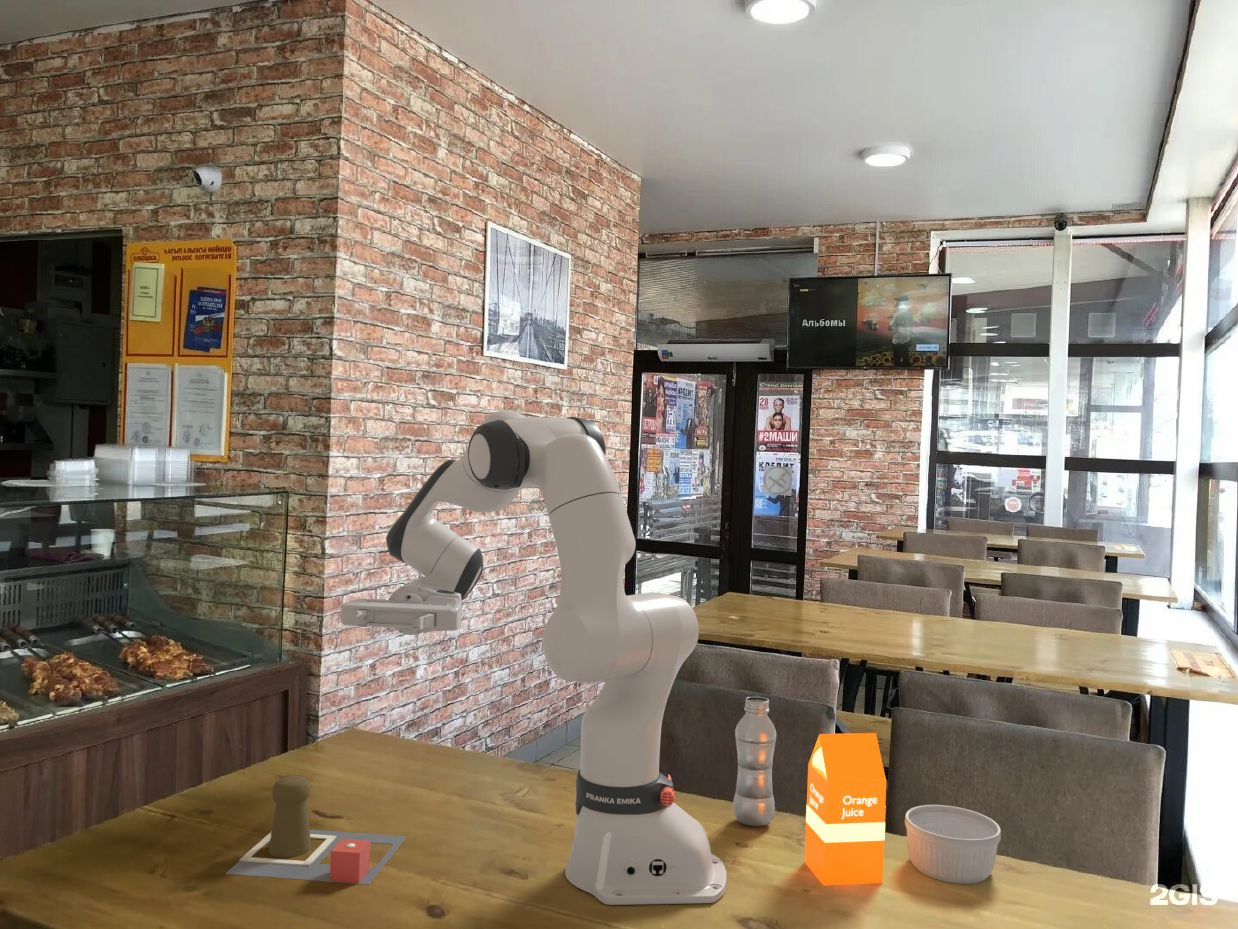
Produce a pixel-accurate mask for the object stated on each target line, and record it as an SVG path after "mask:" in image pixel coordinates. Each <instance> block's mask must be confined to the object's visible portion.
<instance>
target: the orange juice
mask: <svg viewBox="0 0 1238 929" xmlns="http://www.w3.org/2000/svg"><path fill="white" fill-rule="evenodd" d="M877 736H878V735H877V732H867V733H866V732H861V733H859V732H857V733H856V732H855V733H852V732H851V733H819V735H818V738H817V740H816V743H815V746H814V748H813V750H812V753H811V756H810V759H809V761H808V764H807V785H806V786H807V790H806V791H807V792H806V794H807V795H806V807H805V808H806V811H805V812H806V813H805V843H804V844H805V847H804V848H805V849H804V851H805V852H804V863H805V865H806V866H807V867H808V868H809V870H810V871H811V872H812V873H813V874H814V875H815V877H816V878H817V879H818V880H819V882H820V883H821V884H822V885H823V886H839V885H841V886H842V885H843V886H845V885H860V884H861V885H862V884H865V885H866V884H883V880H884V879H883V878H884V860H885V859H884V857H885V856H884V854H885V852H884V850H885V840H886V839H885V838H886V801H887V779H886V775H885V774H886V773H885V770H884V765H883V759H882V755H881V751H880V745H879V740H878V737H877Z"/></svg>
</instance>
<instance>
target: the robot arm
mask: <svg viewBox="0 0 1238 929" xmlns="http://www.w3.org/2000/svg"><path fill="white" fill-rule="evenodd" d="M606 446H607V445H606V442H605V438H604V436H603V434H602V431H601V430H600V428H599V427H598V424H596V423H595V422H593V421H591V420H589V419H586V418H582V417H577V416H569V417H551V416H550V417H545V416H544V417H543V416H542V417H540V416H525V415H523V414H521V413H520V412H517V411H515V410H511V409H509V410H508V409H505V410H504V409H503V410H502V409H501V410H498V411H494V412H493V413H491V414H489V415H488V416H487V417H486V418H484V420H483V422H482V423H481V424H480V425H478V426H477V427H476V429H474V431H473V433H472V435H471V437H470V439H469V443H468V445H467V447H466V449H465V451H464V453H463V456H462V457H461V458H459V459H447V460H445V461H443V463H441V464H440V465H439V466H438V467H437V468H436V469H435V470H434V471H433V473H432V474H431V475H430V476H429V477H428V479H427V480H426V481H425V483H424V484H422V486H421V487H420V489H419V490H418V492H417V494H416V495H415V496H414V497H413V499H412V500H411V502H410V503H409V505H407V507H406V508H405V510H404V512H403V513H402V514H401V515H399V516H398V517H397V518H396V519H395V520H394V522H393V523H392V524H391V526H390V527H389V529H388V532H387V535H386V536H385V541H386V542H385V543H386V546H387V549H388V553H389V555H390V556H391V557H392V558H394V559H397V560H398V561H400V562H402V563H404V564H406V565H407V566H409V567H411V568H413V570H415V571H417V572H418V573H420V574H421V575H423V577H420V578H417V579H416V580H414V581H412V582H410V583H407V584H404V585H402V586H401V587H399V588H397V589H396V590H394V591H393V592H392V593H391V594H390V596H389V597H388V599H384V598H382V599H378V598H359V599H353V600H350V601H346V602H344V603H342V604H341V606H340V623H341V624H342V625H343V626H352V627H354V626H355V627H362V628H363V627H374V628H375V627H376V628H392V629H395V630H396V631H397V632H399V633H400V634H403V635H407V636H416V635H420V634H422V633H423V634H426V633H431V632H443V631H445V632H447V631H449V632H450V631H453V632H454V631H458V630H459V629H461V626H462V619H463V618H462V615H463V605H462V604H463V602H462V601H464V600H465V599H466V598H467V597H468V596H469V594H470V593H471V592H472V591H473V589H474V588H475V586H476V585H477V583H478V581H479V579H480V578H481V576H482V574H483V570H484V558H483V554H482V553H483V552H482V551H481V548H479V547H478V546H476V545H474V544H473V543H472V542H470V541H469V540H468V539H466V538H464V537H463V536H461V535H460V534H457V533H456V532H455V531H454V530H452V529H450V528H449V527H447V526H446V525H444V524H443V523H441V522H440V521H439V520H438V519H436V517H435V516H433V514H432V513H433V512H434V510H435V509H436V507H437V506H438V505H439V504H440V503H447V504H451V505H456V506H457V507H459V508H464V509H465V510H468V511H471V512H475V513H492V512H493V513H494V512H497V511H500V510H502V509H504V508H506V507H509V505H510V504H512V502H513V501H514V499H515V498H516V496H517V495H518V494H519V493H520V491H521V490H522V489H537V488H538V489H540V490H541V492H542V495H543V499H544V504H545V508H546V513H547V516H548V519H549V524H550V526H551V531H552V535H553V538H554V543H555V546H556V551H557V555H558V560H559V563H560V577H561V578H560V580H561V581H560V592H559V597H558V601H557V605H556V607H555V609H554V611H553V612H552V614H551V615H550V617H549V618H548V619H547V621H546V622H545V627H544V630H543V634H542V652H543V655H544V659H545V661H546V663H547V665H548V667H549V668H550V670H551V671H552V672H553V674H554V675H556V676H557V678H559V679H561V680H564V681H567V682H576V683H577V682H578V683H590V684H591V683H593V684H594V683H601V682H604V684H603V686H602V689H601V690H600V693H599V694H598V696H596V699H594V701H593V702H592V703H591V704H590V705H589V706H588V708H587V709H586V711H585V713H584V715H583V716H582V719H581V726H580V755H579V756H580V760H579V762H580V764H579V765H580V766H579V770H578V772H577V774H576V778H575V779H576V780H575V785H574V786H575V790H574V793H575V794H574V806H575V813H576V822H575V828H574V835H573V841H572V846H571V850H570V855H569V858H568V861H567V863H566V866H565V869H564V873H565V877H566V879H567V880H568V881H569V883H571V884H572V885H573V886H574V887H576V888H577V889H578V888H579V889H580V890H582V891H585V892H586V893H589V894H590V895H593V896H594V897H595V898H596V899H597V900H598V901H599V902H601V903H603V904H604V905H610V906H611V905H612V906H613V905H617V906H618V905H621V906H622V905H664V904H665V905H668V904H670V905H672V904H675V905H677V904H709V903H710V904H712V903H715V902H717V901H718V900H719V899H721V898H722V897H723V895H724V894H725V892H726V891H727V886H728V883H727V882H728V879H727V878H728V877H727V876H728V875H727V870H726V869H727V868H726V867H725V864H724V863H723V861H722V860H721V859H720V858H719V857H718V856H716V855H715V854H713V853H712V849H711V844H710V841H709V837H708V835H707V834H708V833H707V831H706V830H705V828H704V826H703V825H702V824H701V822H699V821H698V820H697V819H695V818H694V817H692V816H691V815H690V814H689V813H688V812H686V811H685V810H684V809H682V808H681V807H680V806H679V805H678V804H676V802H675V800H676V792H675V790H674V782H673V781H672V777H671V775H670V774H668V775H667V776H665V775H664V774H663V773H662V772H660V771H659V770H660V752H661V751H660V750H661V736H662V735H661V734H662V724H663V719H664V713H665V709H666V706H667V702H668V700H669V699H668V698H669V696H670V693H671V690H672V687H673V684H674V682H675V679H676V678H677V675H678V672H679V671H680V669H681V667H682V665H683V664H684V662H685V661H686V660H687V658H688V657H689V656H690V655H691V654H692V652H693V651H694V650H695V648H696V647H697V643H698V642H699V641H698V640H699V635H700V631H699V630H700V629H699V628H700V627H699V622H698V617H697V615H696V613H695V610H694V608H693V607H692V606H691V604H689V603H688V601H687V600H685V599H684V598H682V597H680V596H677V595H672V594H669V593H668V594H667V593H661V592H646V593H645V592H643V593H637V594H629V595H628V594H627V595H626V592H625V588H624V569H625V566H626V565H627V563H629V561H630V560H631V559H632V557H633V556H634V553H635V550H636V542H637V541H636V539H635V535H634V533H633V528H632V524H631V521H630V519H629V516H628V512H627V509H626V506H625V502H624V499H623V495H622V493H621V490H620V486H619V484H618V481H617V479H616V477H615V476H616V475H615V473H614V471H613V468H612V467H611V464H610V462H609V460H608V459H607V457H606V453H607V450H606V449H607V448H606Z"/></svg>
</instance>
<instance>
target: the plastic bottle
mask: <svg viewBox="0 0 1238 929" xmlns="http://www.w3.org/2000/svg"><path fill="white" fill-rule="evenodd" d="M744 701H745V704H744V707H743V709H744V712H745V714H744V715H743V716H742V717H741V719H739V721H738V723H737V724H736V728H735V730H734V732H735V733H734V734H735V736H734V737H735V744H736V751H737V764H738V765H737V779H736V787H735V793H734V797H733V803H732V810H733V815H734V817H735V818H736V821H738V822H739V823H740V824H742V825H744V826H745V825H746V826H749V827H750V826H751V827H763V826H768V825H769V824H770V823H771V822H772V821H773V820H774V816H775V812H776V806H775V798H774V797H775V796H774V794H773V775H772V774H773V764H774V763H773V762H774V761H773V760H774V753H775V746H776V742H777V741H776V740H777V731H776V728H775V725H774V723H773V722H772V720H771V719H770V717H769V716H768V714H769V713H770V707H769V706H770V705H769V704H770V700H769V698H767V697H761V696H748V697H746V698H745V700H744Z"/></svg>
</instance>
